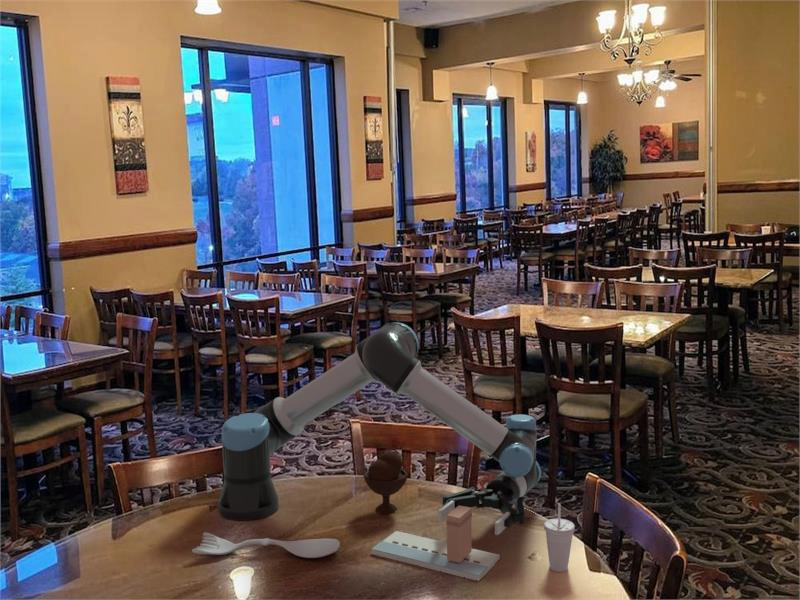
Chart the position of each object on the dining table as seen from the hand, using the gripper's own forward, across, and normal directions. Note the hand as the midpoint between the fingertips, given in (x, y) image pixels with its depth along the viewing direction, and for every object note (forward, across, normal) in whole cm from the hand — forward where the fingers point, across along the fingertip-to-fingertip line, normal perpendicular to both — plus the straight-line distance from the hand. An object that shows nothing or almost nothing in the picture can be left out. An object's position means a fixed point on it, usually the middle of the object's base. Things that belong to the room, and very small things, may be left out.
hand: (467, 522), depth 173 cm
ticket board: (+4, +6, -8) cm, 11 cm away
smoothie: (-4, -19, -8) cm, 21 cm away
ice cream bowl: (-13, +29, -8) cm, 33 cm away
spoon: (+20, +40, -8) cm, 45 cm away
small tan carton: (+3, 0, -6) cm, 7 cm away
